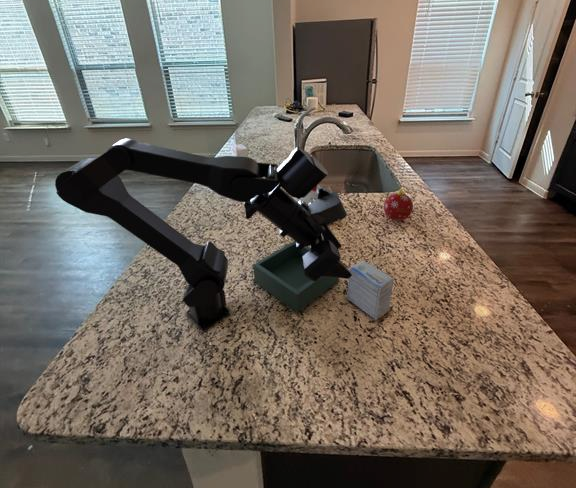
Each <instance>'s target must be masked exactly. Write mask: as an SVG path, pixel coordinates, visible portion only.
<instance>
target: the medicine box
mask: <svg viewBox="0 0 576 488" xmlns="http://www.w3.org/2000/svg"><path fill="white" fill-rule="evenodd" d="M348 270H349V271H350V272H351V274H352V276H351V277H350V278H348V282H347V283H348V284H347V293H346V294H347V295H346V299H347V300H348V301H350V302H351V303H352V304H353V305H354V306H356V307H358V308H359V309H360V310H361V311H362V312H364V313H366V314H367V315H368V316H370V317H371V318H372V319H373V320H375V321H377V320H379V319H380V318H381V317H383V316H384V315H385V314H386V313H388V312H389V311H390V307H391V306H390V305H391V300H392V292H393V287H394V281H395V278H393V277H391V276H390V275H389V274H387V273H386V272H384V271H382V270H380V269H379V268H377V267H375V266H374V265H372V264H370V263H369V262H367V261H366V260H362V261H359V262H358V263H356V264H354V265H352V266H351V267H349V269H348Z"/></svg>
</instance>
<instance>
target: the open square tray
mask: <svg viewBox="0 0 576 488" xmlns="http://www.w3.org/2000/svg"><path fill="white" fill-rule="evenodd" d="M310 250H311V246H308V247H307V246H305V247H304V248H303V249H302V250H299V249H298V248H297V247H296V241H294V240H293V241H292V242H290V243H288V244H286V245H285V246H283V247H281V248H280V249H278V250H276V251H274V252H272V253H270V254H268V255H267V256H266V257H263V258H262V259H260V260H258V261H256V262H255V263H253V264H252V267H253V279H254V282H255V283H256V284H257V285H259V286H260V287H261V288H262V289H264V290H265V291H267V292H268V293H269V294H271V295H272V296H273V297H274V298H276V299H277V300H279V301H280V302H282V303H283V304H284V305H286V306H287V307H288V308H290V309H291V310H292V311H293V312H296V313H297V314H298V313H299V312H301V311H302V310H303V309H305V308H306V307H307V306H308V305H310V304H311V303H312V302H313V301H315V300H317V298H318V297H320V296H321V295H323V294H324V293H325V292H326V291H328V290H329V289H330V288H332V287H333V286H334V285H335V284H337V283H338V282H339V281H340V278H337V277H328V276H321V277H320V278H319V279H318V280H316V281H311V280H310V279H309V278H307V277H306V276H305V275H304V269H303V256H304V255H305V254H306V253H307V252H308V251H310Z"/></svg>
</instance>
